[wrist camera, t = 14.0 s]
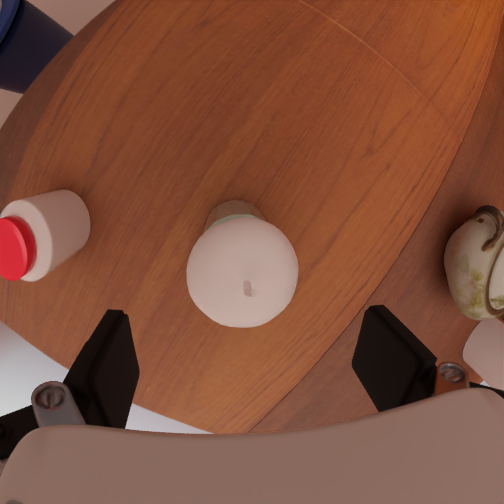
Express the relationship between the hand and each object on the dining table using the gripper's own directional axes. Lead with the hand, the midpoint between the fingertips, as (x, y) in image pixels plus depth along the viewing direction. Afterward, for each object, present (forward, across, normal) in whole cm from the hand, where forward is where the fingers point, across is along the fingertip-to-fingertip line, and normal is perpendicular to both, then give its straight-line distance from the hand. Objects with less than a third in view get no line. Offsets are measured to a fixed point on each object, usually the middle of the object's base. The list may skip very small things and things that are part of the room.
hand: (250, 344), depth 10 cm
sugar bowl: (+20, -34, +2) cm, 39 cm away
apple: (+12, 0, 0) cm, 12 cm away
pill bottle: (+21, +19, 0) cm, 28 cm away
